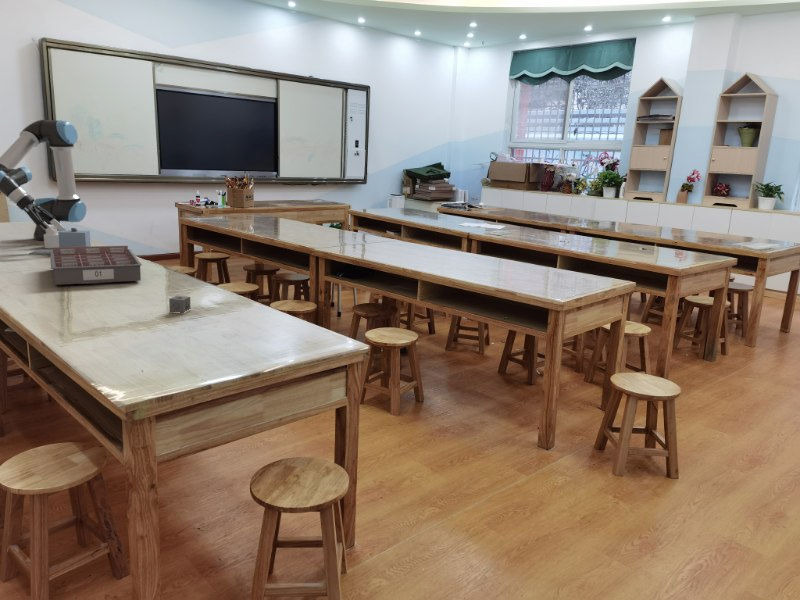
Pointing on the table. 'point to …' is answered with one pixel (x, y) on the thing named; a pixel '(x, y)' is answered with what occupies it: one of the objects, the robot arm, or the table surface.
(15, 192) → the robot arm
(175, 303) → the dice cube
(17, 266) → the table surface
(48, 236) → the medicine bottle
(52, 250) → the mat
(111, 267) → the organizer tray
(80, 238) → the cover
